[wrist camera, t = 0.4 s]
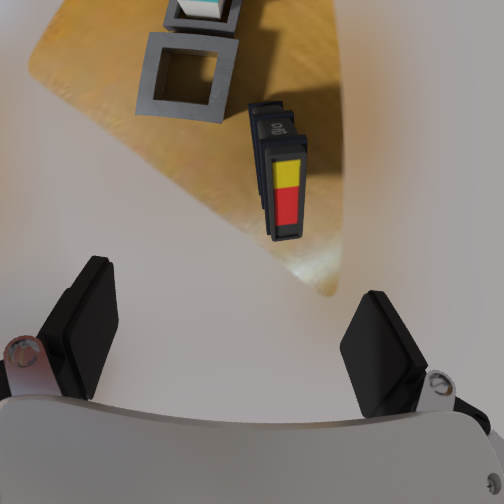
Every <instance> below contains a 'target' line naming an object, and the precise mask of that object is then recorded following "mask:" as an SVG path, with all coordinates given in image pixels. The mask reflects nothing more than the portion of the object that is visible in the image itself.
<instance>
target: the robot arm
mask: <svg viewBox="0 0 504 504" xmlns="http://www.w3.org/2000/svg"><path fill="white" fill-rule="evenodd" d="M118 321H119V319H118V311H117V301H116V291H115V280H114V266H113V263H112V262H109V260H108V258H107V257H100V256H92V257H91V258H90V260H89V261H88V262H87V264H86V265H85V267H84V268H83V270H82V271H81V273H80V274H79V275H78V277H77V278H76V280H75V281H74V283H73V284H72V286H71V287H70V288H67V289H66V290H65V291H64V293H63V294H62V296H61V297H60V299H59V301H58V302H57V304H56V305H55V307H54V308H53V310H52V312H51V313H50V315H49V316H48V318H47V320H46V321H45V323H44V325H43V326H42V328H41V330H40V331H39V333H38V335H37V336H36V337H33V336H28V335H24V336H19V337H17V338H14V339H13V340H12V341H10V342H9V343H8V345H7V346H6V347H5V350H4V353H3V357H4V359H3V360H1V361H0V504H504V440H503V439H502V438H501V437H500V436H499V435H498V434H497V433H496V432H495V431H494V430H492V431H491V432H490V430H491V426H490V421H489V419H488V417H487V416H486V414H484V413H483V412H482V411H480V410H478V409H477V408H475V407H473V406H471V405H469V404H468V403H466V402H464V401H463V400H461V399H460V398H458V397H456V396H455V394H456V388H455V384H454V382H453V381H452V379H451V378H450V377H449V376H448V375H447V374H445V373H444V372H441V371H438V370H432V371H429V372H428V373H426V371H425V369H426V368H427V367H428V364H427V362H426V360H425V358H424V357H423V355H422V353H421V351H420V350H419V348H418V346H417V345H416V343H415V341H414V340H413V338H412V336H411V334H410V333H409V331H408V329H407V328H406V326H405V324H404V323H403V321H402V319H401V318H400V316H399V315H398V313H397V311H396V310H395V308H394V307H393V305H392V303H391V302H390V300H389V299H388V297H387V296H386V294H385V293H384V292H383V291H373V290H370V291H368V293H367V294H364V296H363V297H362V300H361V302H360V304H359V306H358V308H357V310H356V312H355V314H354V316H353V318H352V321H351V323H350V325H349V327H348V329H347V331H346V333H345V335H344V337H343V339H342V341H341V343H340V352H341V355H342V357H343V360H344V363H345V365H346V369H347V371H348V374H349V377H350V380H351V383H352V386H353V389H354V392H355V395H356V398H357V401H358V403H359V407H360V410H361V413H362V415H363V416H364V417H365V419H357V420H346V421H332V422H314V423H241V422H240V423H239V422H224V421H223V422H222V421H210V420H199V419H190V418H181V417H173V416H166V415H159V414H152V413H147V412H140V411H135V410H129V409H124V408H119V407H114V406H108V405H104V404H100V403H95V402H90V401H88V399H92V398H93V397H94V393H95V391H96V388H97V384H98V381H99V378H100V375H101V373H102V370H103V367H104V364H105V361H106V358H107V355H108V352H109V350H110V347H111V344H112V342H113V339H114V336H115V333H116V331H117V328H118Z"/></svg>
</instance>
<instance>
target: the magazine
mask: <svg viewBox="0 0 504 504" xmlns="http://www.w3.org/2000/svg"><path fill="white" fill-rule="evenodd" d="M248 110H249V118H250V126H251V134H252V141H253V149H254V157H255V165H256V173H257V182H258V190H259V195H260V196H261V203H262V209H265V220H266V231H267V235H271V238H272V241H275V242H276V241H283V240H290V239H298V238H301V237H302V233H303V218H304V203H305V185H306V165H307V138H306V135H305V134H304V135H298V133H297V130H296V128H295V126H294V113H293V112H292V110H287V111H285V110H284V109H283V102H282V101H271V102H261V103H252V104H248Z"/></svg>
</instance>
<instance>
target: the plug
mask: <svg viewBox="0 0 504 504" xmlns="http://www.w3.org/2000/svg"><path fill="white" fill-rule="evenodd" d="M177 1H178V2H179V4H180V6H181V7H182V9H183V11H184V12H185V14H186V16H187V17H188V18H197V19H208V20H217V21H221V18H222V13H223V9H224V6H225V2H226V0H177Z"/></svg>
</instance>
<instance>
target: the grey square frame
mask: <svg viewBox="0 0 504 504" xmlns="http://www.w3.org/2000/svg"><path fill="white" fill-rule="evenodd" d="M242 2H243V0H233V1H232V5H231V9H230V13H229V17H228V21H227V23H221V22H212V21H202V20H190V19H179V18H180V14H181V10H182V7H181V6H180V4H179V2H178V1H177V0H169V4H168V8H167V11H166V15H165V19H164V23H163V26H164V27H165V28H166V29H167V30H168V31H179V32H193V33H204V34H213V35H221V36H228V37H234V35H235V31H236V27H237V23H238V18H239V14H240V10H241V6H242Z"/></svg>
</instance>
